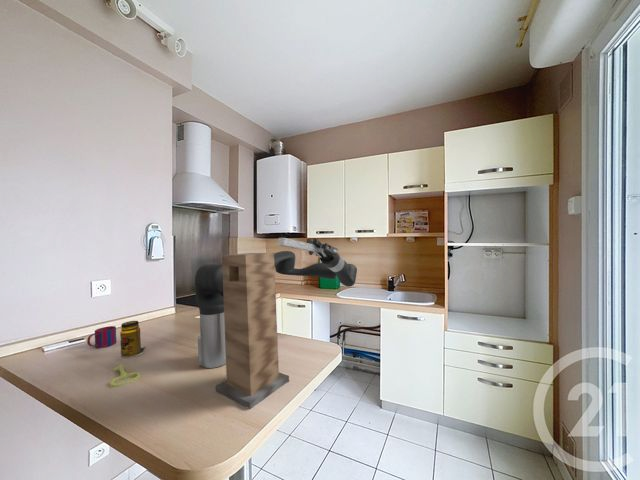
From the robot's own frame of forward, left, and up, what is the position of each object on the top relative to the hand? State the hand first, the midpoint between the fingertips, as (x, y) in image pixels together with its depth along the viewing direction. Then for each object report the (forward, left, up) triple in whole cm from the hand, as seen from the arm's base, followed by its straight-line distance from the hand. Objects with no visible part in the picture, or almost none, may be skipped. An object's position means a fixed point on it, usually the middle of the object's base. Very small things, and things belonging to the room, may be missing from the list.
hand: (311, 240), depth 94 cm
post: (-15, -26, -40) cm, 50 cm away
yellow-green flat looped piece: (-58, -21, -41) cm, 74 cm away
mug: (-89, +1, -40) cm, 98 cm away
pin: (-2, -4, -3) cm, 6 cm away
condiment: (-70, -5, -40) cm, 81 cm away
